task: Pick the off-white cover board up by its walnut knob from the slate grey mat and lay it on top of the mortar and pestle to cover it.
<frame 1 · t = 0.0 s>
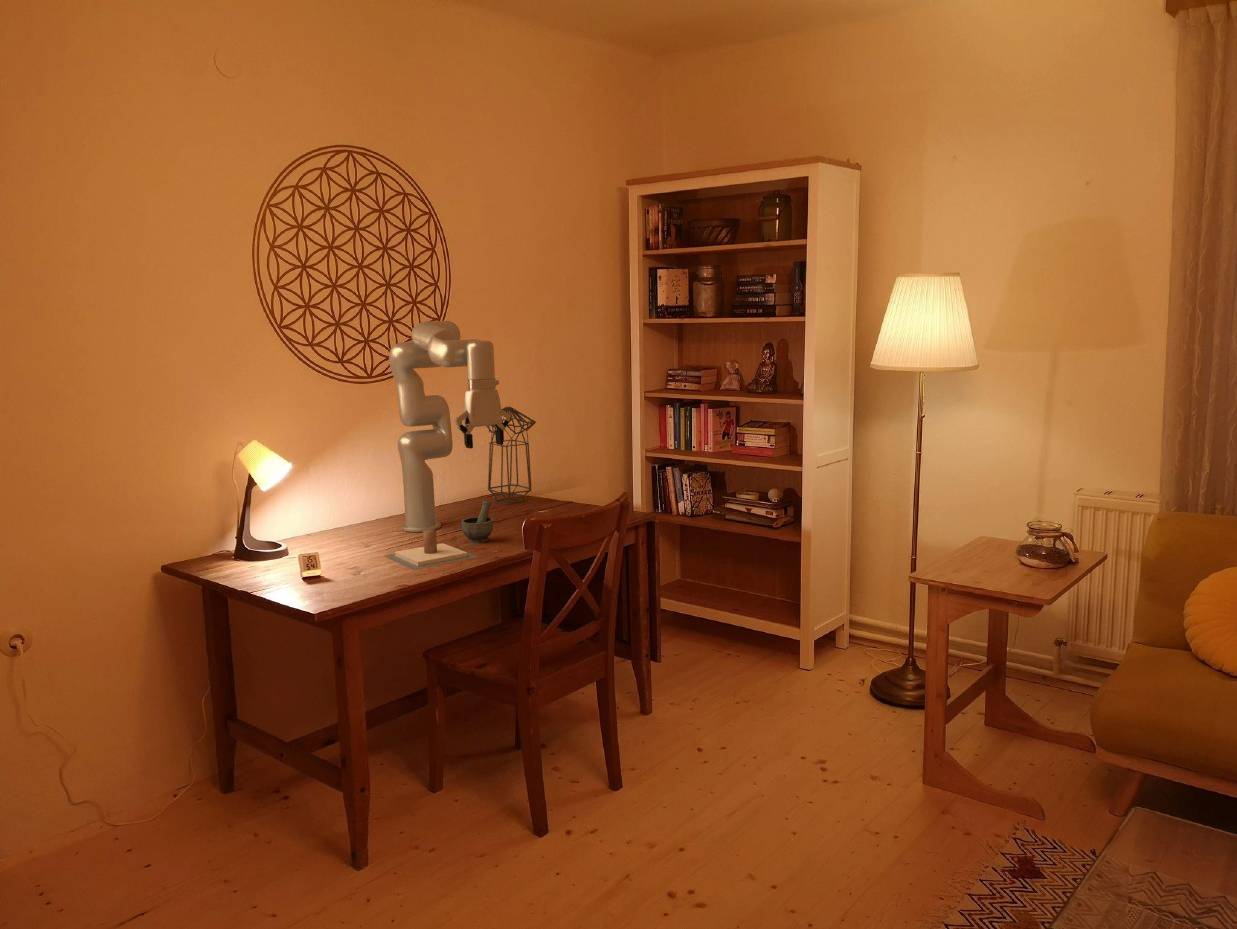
hand: (484, 446, 270), 31 cm above the table, tool pointing down, fingers open, 9 cm apart
geometric lantern: (511, 502, 350), on the table
cover board: (430, 556, 271), point 1 cm above the table, touching slate mat
slate mat: (431, 558, 271), on the table
mortar and pestle: (479, 542, 290), on the table
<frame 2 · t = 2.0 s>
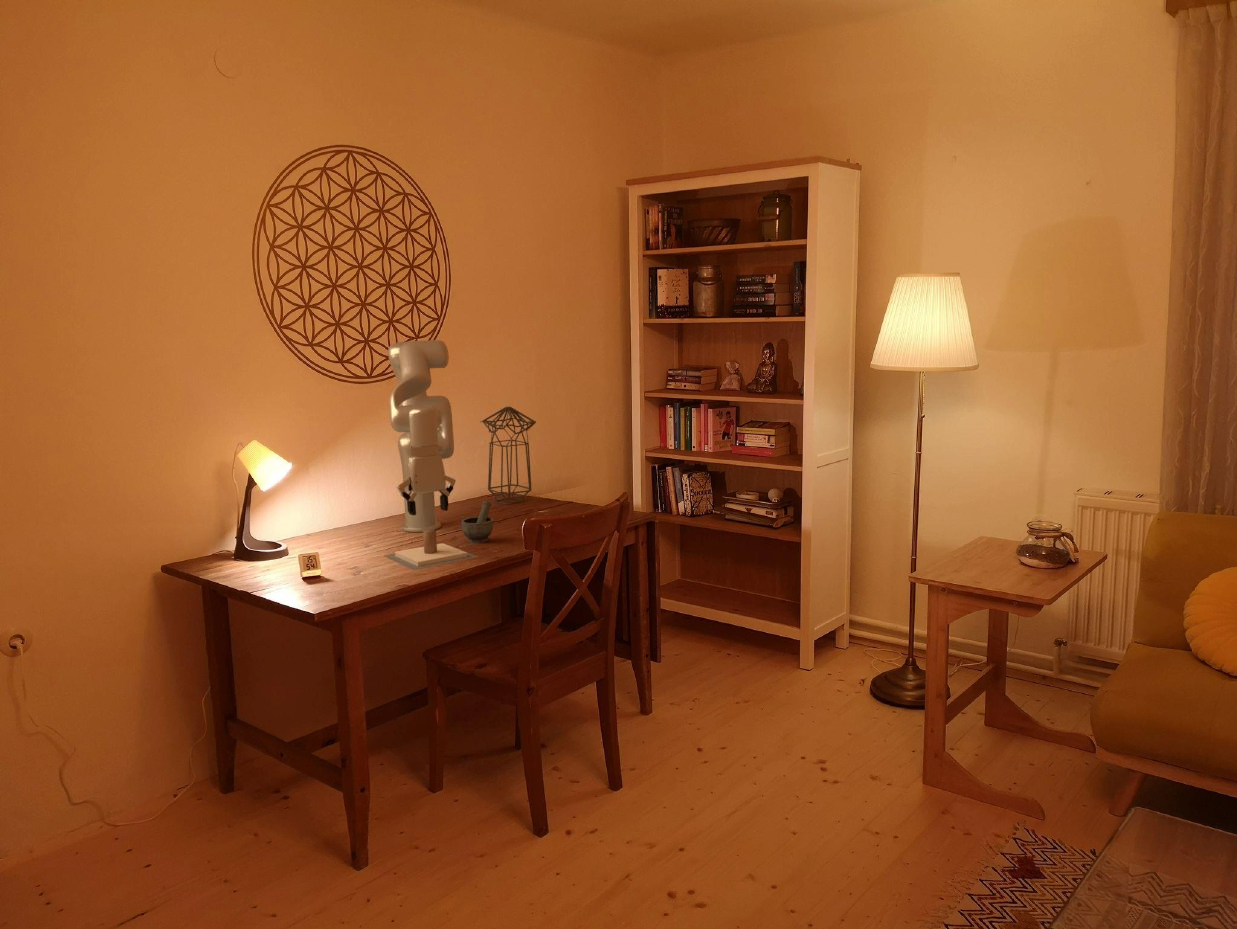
hand: (428, 512, 269), 13 cm above the table, tool pointing down, fingers open, 9 cm apart
nothing on the table moved.
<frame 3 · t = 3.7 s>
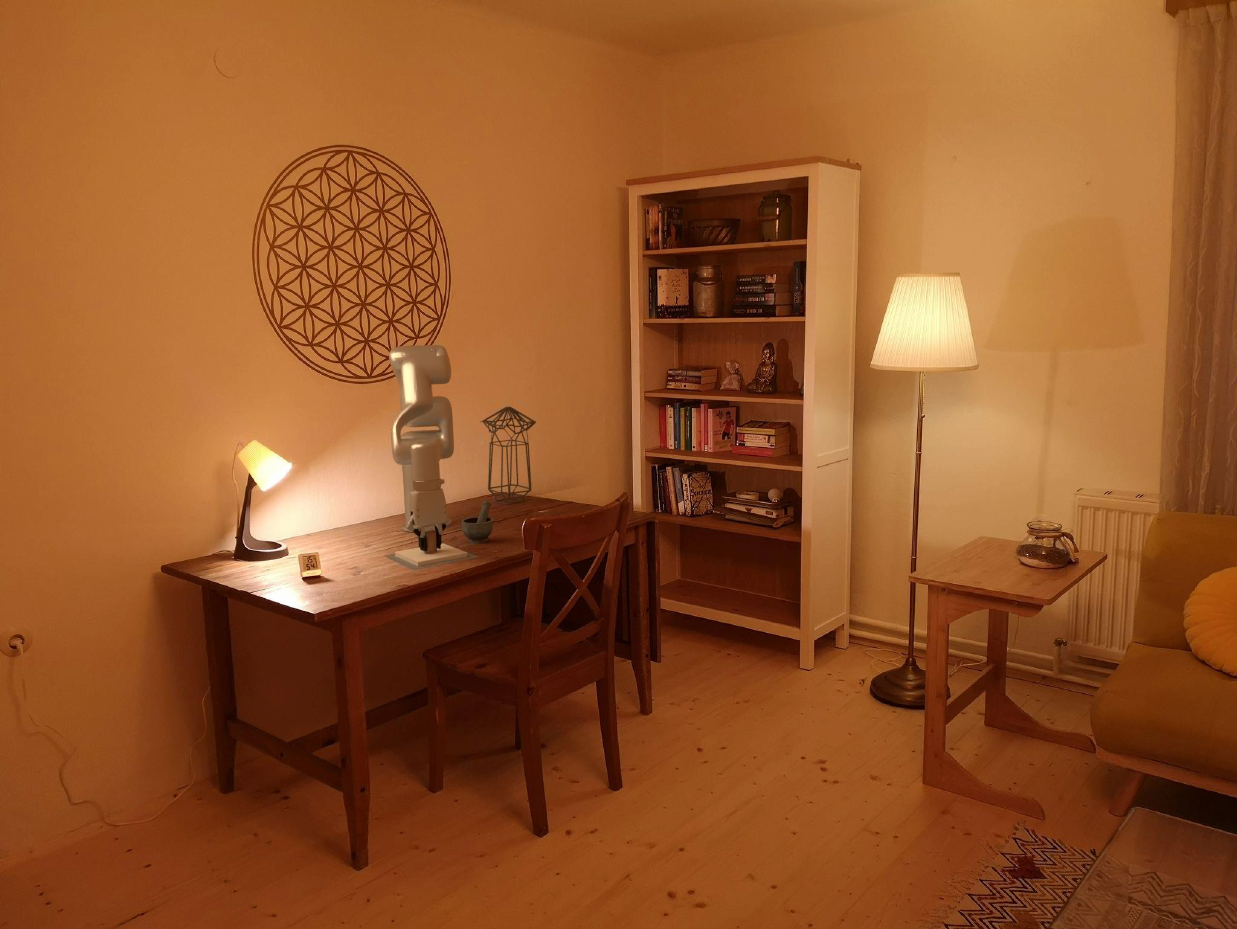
hand: (430, 548, 271), 3 cm above the table, tool pointing down, fingers closed on cover board, 3 cm apart
cover board: (430, 556, 271), point 1 cm above the table, touching gripper, slate mat
everything else where it was.
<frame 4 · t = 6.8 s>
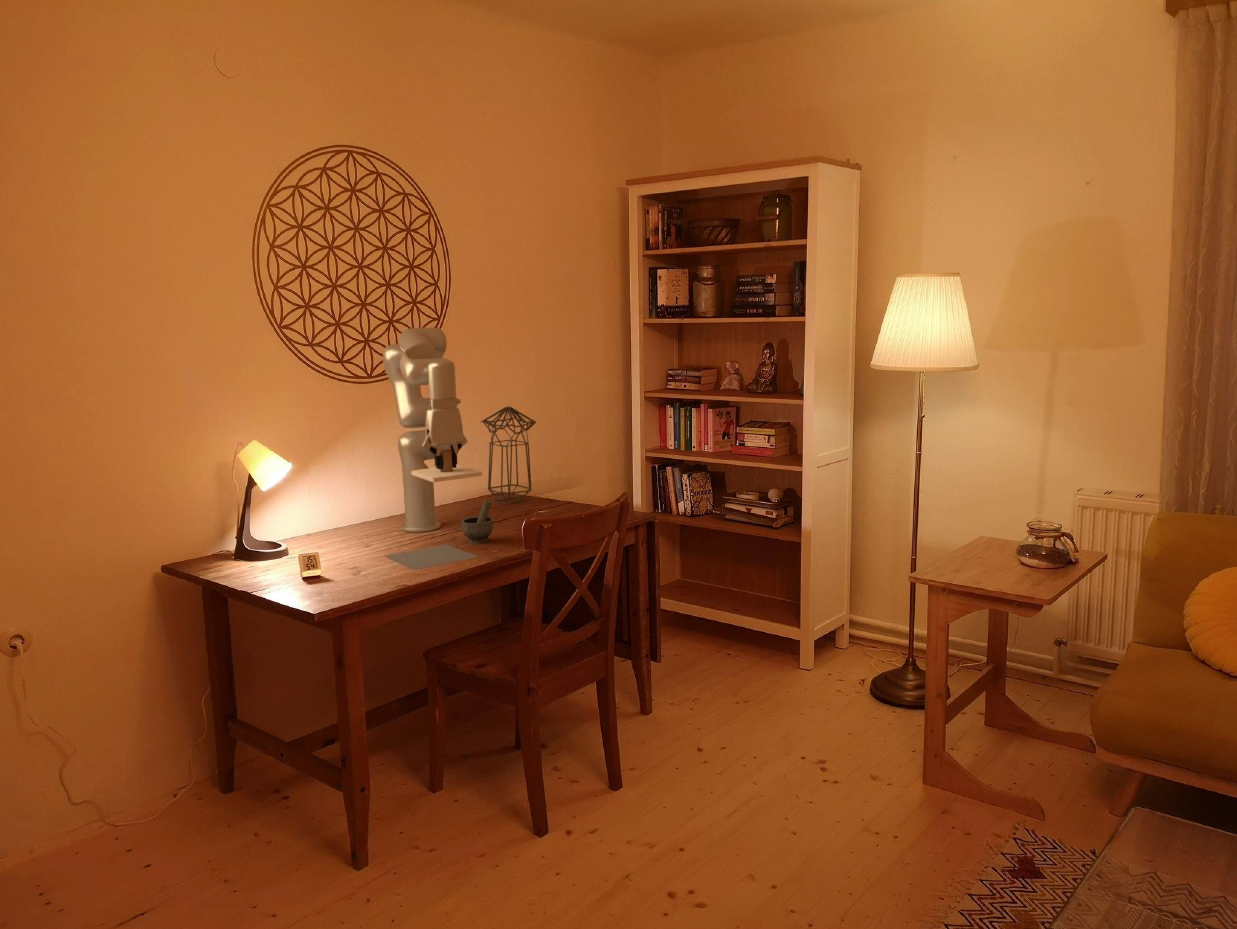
hand: (446, 467, 275), 25 cm above the table, tool pointing down, fingers closed on cover board, 3 cm apart
cover board: (446, 475, 275), point 23 cm above the table, touching gripper
everything else where it was.
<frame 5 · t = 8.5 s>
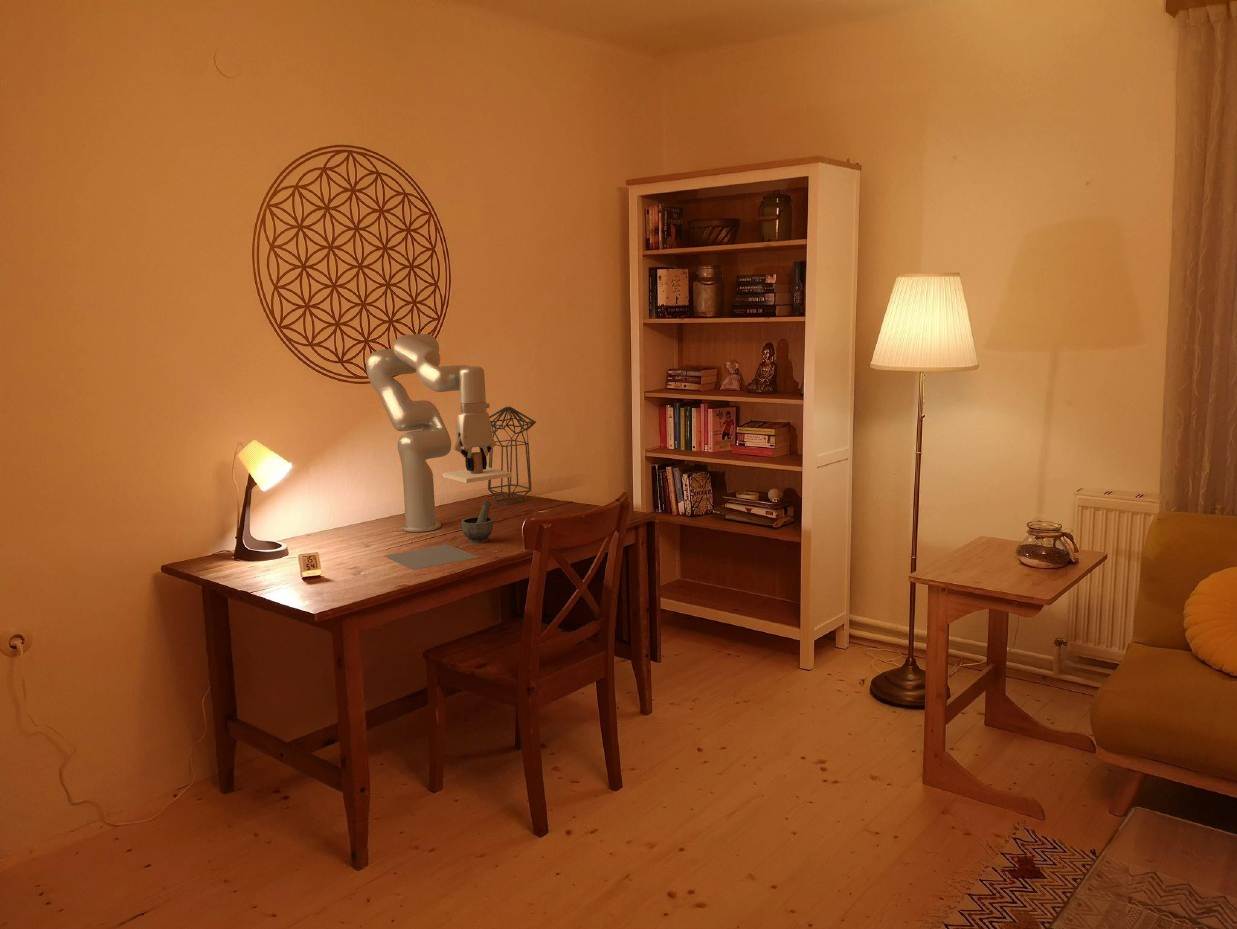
hand: (476, 469, 286), 22 cm above the table, tool pointing down, fingers closed on cover board, 3 cm apart
cover board: (477, 476, 286), point 20 cm above the table, touching gripper
everything else where it was.
when the fingers open (16 cm above the table, at t = 10.1 s): cover board drops 2 cm, resting on mortar and pestle.
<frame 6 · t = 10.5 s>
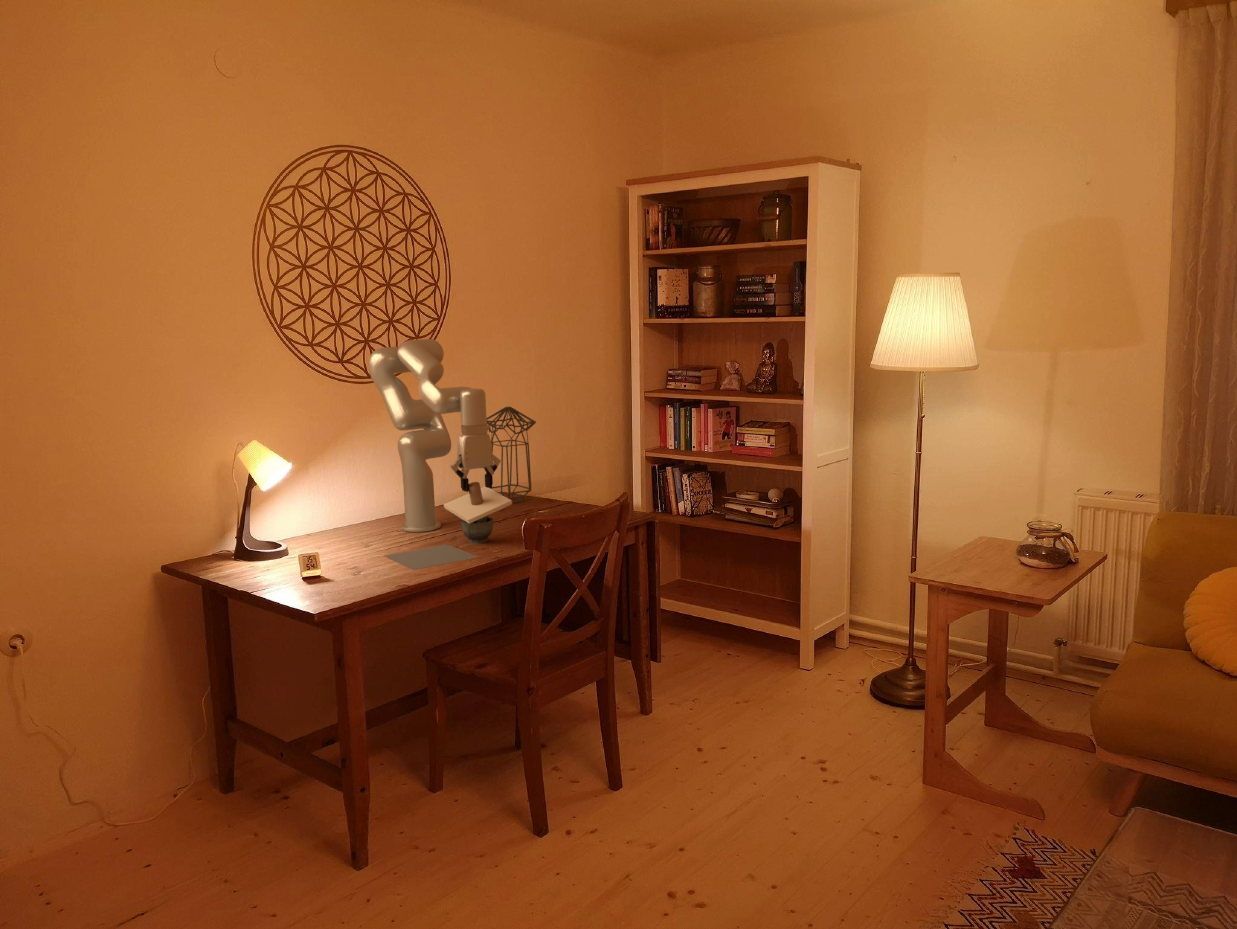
hand: (477, 488, 287), 16 cm above the table, tool pointing down, fingers open, 7 cm apart
cover board: (478, 505, 288), point 11 cm above the table, tilted 18°, touching mortar and pestle
mortar and pestle: (479, 542, 290), on the table, touching cover board
everything else where it was.
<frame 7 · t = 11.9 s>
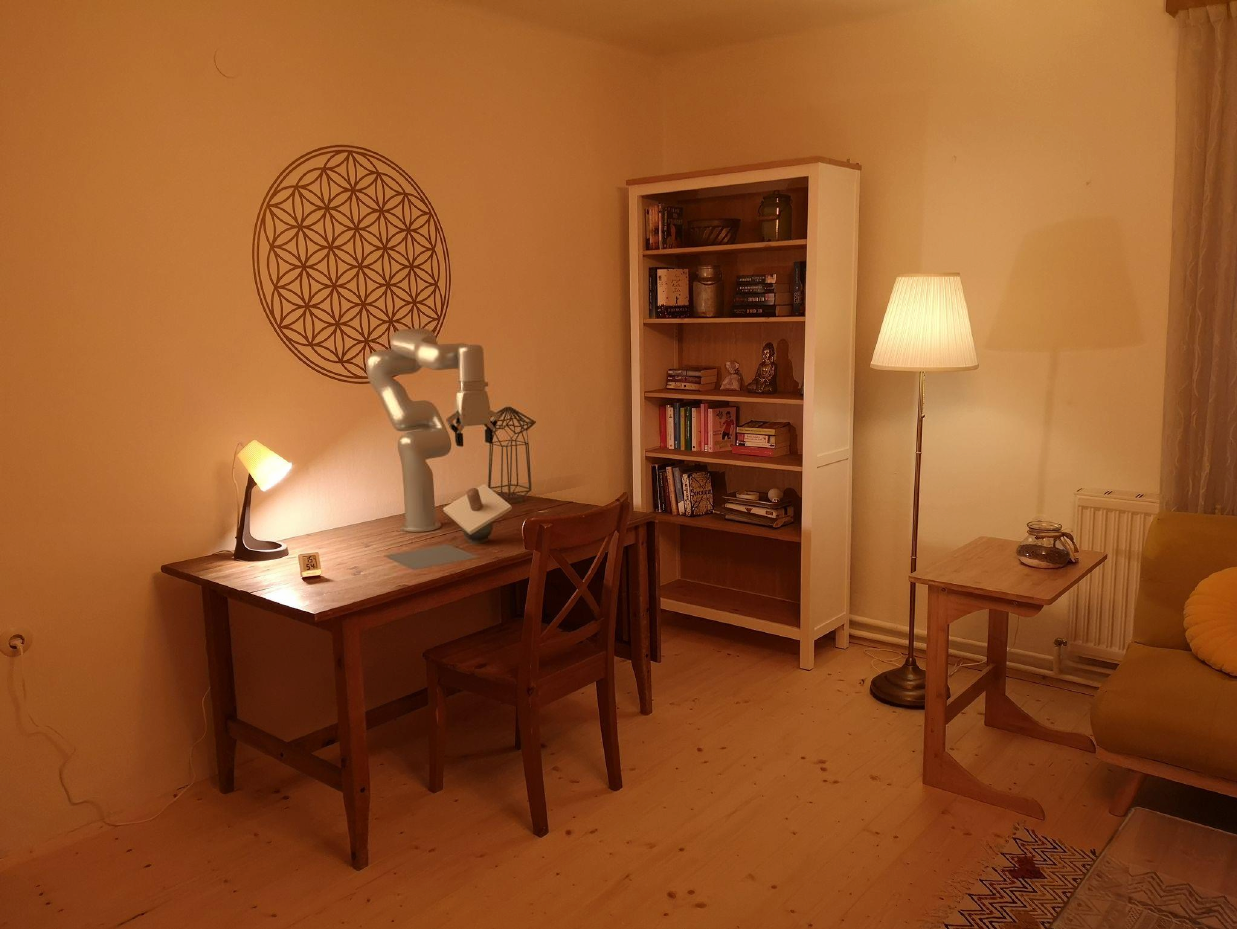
hand: (474, 444, 285), 30 cm above the table, tool pointing down, fingers open, 9 cm apart
cover board: (477, 510, 287), point 10 cm above the table, tilted 30°, touching mortar and pestle
everything else where it was.
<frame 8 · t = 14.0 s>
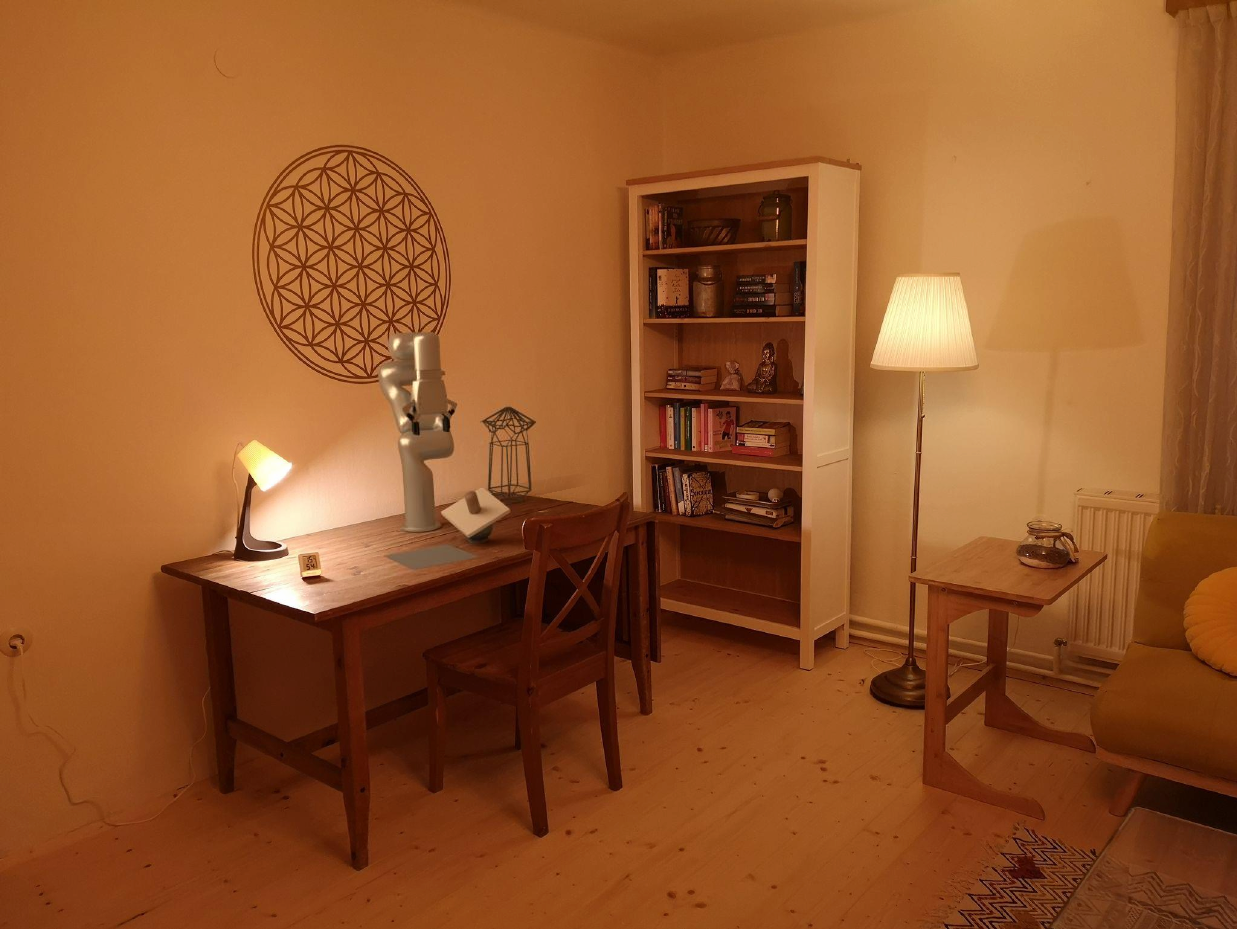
hand: (431, 433, 285), 33 cm above the table, tool pointing down, fingers open, 9 cm apart
cover board: (475, 513, 286), point 9 cm above the table, tilted 30°, touching mortar and pestle
everything else where it was.
at the end: cover board 1.9 cm from the mortar and pestle (horizontally); cover board point 9.2 cm above the table; the gripper is holding nothing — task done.
